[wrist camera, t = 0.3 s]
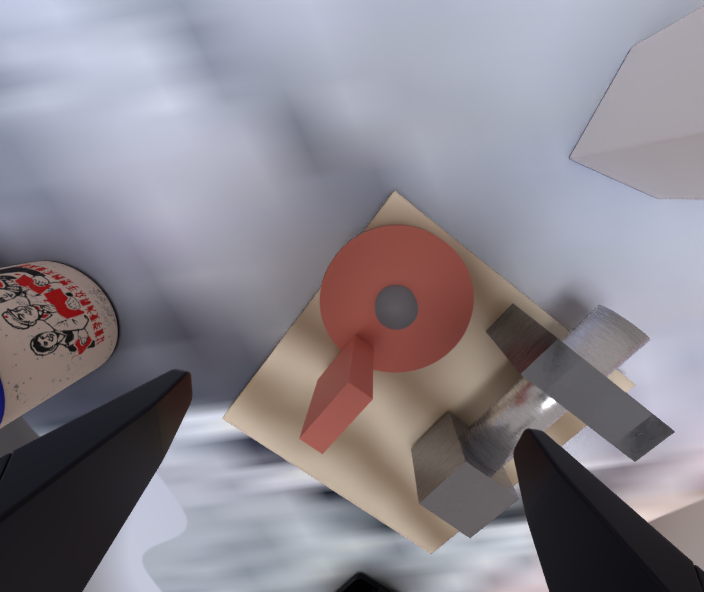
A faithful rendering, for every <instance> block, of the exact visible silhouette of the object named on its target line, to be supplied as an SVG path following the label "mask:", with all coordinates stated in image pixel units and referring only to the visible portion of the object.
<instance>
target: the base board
mask: <svg viewBox="0 0 704 592" xmlns="http://www.w3.org/2000/svg"><path fill="white" fill-rule="evenodd" d="M386 225H408V226H413V227H417V228H420V229H423V230H426V231H428V232H430V233H432V234H434V235H436V236H437V237H439V238H440V239H442V240H443V241H444V242H446V243H447V244H448V245H449V246H451V247H452V248H453V249H454V250H455V251H456V253H457V254H458V255H459V256H460V257H461V259H462V260H463V262H464V264H465V265H466V267H467V270H468V272H469V274H470V277H471V281H472V285H473V292H474V306H473V312H472V316H471V320H470V323H469V325H468V327H467V330H466V332H465V334H464V335H463V337H462V338H461V340H460V341H459V342H458V344H457V345H456V346H455V347H454V348H453V349H452V350H451V351H450V352H449V353H448V354H447V355H445V356H444V357H443V358H441V359H440V360H438V361H437V362H435V363H433V364H431V365H429V366H426V367H424V368H421V369H418V370H414V371H409V372H399V373H391V372H382V371H377V370H373V400H372V401H371V402H370V403H369V404H368V405H367V406H366V407H365V408H364V410H363V411H362V412H361V413H360V414H359V415H358V416H357V417H356V418H355V419H354V420H353V422H352V423H351V424H350V425H349V426H348V427H347V428H346V429H345V430H344V431H343V432H342V434H341V435H340V436H339V437H338V438H337V439H336V440H335V441H334V442H333V443H332V444H331V446H330V447H329V448H328V449H327V450H326V451H325V452H324V453H323V454H321V453H320V452H318V451H317V450H315V449H314V448H312V447H311V446H309V445H308V444H306V443H305V442H303V441H302V440H300V439H299V438H300V435H301V431H302V428H303V425H304V422H305V419H306V415H307V412H308V409H309V406H310V402H311V399H312V396H313V393H314V390H315V386H316V383H317V380H318V379H319V377H320V376H321V375H322V374H323V373H324V371H325V370H326V369H327V368H328V367H329V365H330V364H331V363H332V362H333V361H334V359H335V358H336V357H337V356H338V355H339V353H340V352H341V350H340V349H339V348H338V347H337V346H336V345H335V344H334V342H333V341H332V339H331V338H330V336H329V334H328V333H327V331H326V329H325V326H324V323H323V320H322V316H321V312H320V291H321V288H320V289H319V290H318V292H317V293H316V294H315V296H314V297H313V298H312V300H311V301H310V302H309V304H308V305H307V306H306V308H305V309H304V310H303V312H302V313H301V314H300V316H299V317H298V318H297V319H296V321H295V322H294V323H293V325H292V326H291V327H290V329H289V330H288V331H287V333H286V334H285V335H284V337H283V338H282V339H281V341H280V342H279V343H278V345H277V346H276V347H275V349H274V350H273V351H272V353H271V354H270V355H269V356H268V358H267V359H266V360H265V362H264V363H263V364H262V366H261V367H260V368H259V370H258V371H257V372H256V374H255V375H254V376H253V378H252V379H251V380H250V382H249V383H248V384H247V386H246V387H245V388H244V390H243V391H242V392H241V394H240V395H239V396H238V397H237V399H236V400H235V401H234V403H233V404H232V405H231V407H230V408H229V409H228V411H227V412H226V414H225V415H224V417H223V418H222V419H224V420H225V421H227V422H228V423H230V424H231V425H233V426H234V427H236V428H237V429H239V430H241V431H242V432H244V433H245V434H247V435H248V436H250V437H251V438H253V439H254V440H256V441H258V442H259V443H261V444H262V445H264V446H265V447H267V448H268V449H270V450H271V451H273V452H274V453H276V454H278V455H279V456H281V457H282V458H284V459H285V460H287V461H288V462H290V463H291V464H293V465H295V466H296V467H298V468H299V469H301V470H302V471H304V472H305V473H307V474H308V475H310V476H312V477H313V478H315V479H316V480H318V481H319V482H321V483H322V484H324V485H325V486H327V487H329V488H330V489H332V490H333V491H335V492H336V493H338V494H339V495H341V496H342V497H344V498H345V499H347V500H349V501H350V502H352V503H353V504H355V505H356V506H358V507H359V508H361V509H362V510H364V511H366V512H367V513H369V514H370V515H372V516H373V517H375V518H376V519H378V520H379V521H381V522H383V523H384V524H386V525H387V526H389V527H390V528H392V529H393V530H395V531H396V532H398V533H399V534H401V535H403V536H404V537H406V538H407V539H409V540H410V541H412V542H413V543H415V544H416V545H418V546H420V547H421V548H423V549H424V550H426V551H427V552H429V553H430V554H432V553H433V552H435V551H436V550H437V549H438V548H439V547H441V546H442V545H443V544H444V543H445V542H447V541H448V540H449V539H450V538H451V537H453V536H454V535H455V534H456V533H457V532H459V530H457V529H456V528H454V527H453V526H451V525H450V524H448V523H447V522H445V521H444V520H442V519H441V518H439V517H438V516H436V515H435V514H433V513H432V512H430V511H429V510H427V509H426V508H424V507H423V506H421V505H420V504H419V502H418V495H417V488H416V481H415V474H414V467H413V460H412V453H411V448H412V447H413V446H414V445H415V444H416V443H417V442H418V441H419V440H420V439H421V438H422V437H423V436H424V435H426V434H427V433H428V432H429V431H430V430H431V429H432V428H433V427H434V426H435V425H436V424H437V423H438V422H439V421H440V420H441V419H442V418H443V417H444V416H445V415H446V414H447V413H448V412H450V413H451V414H453V415H454V416H456V417H457V418H458V419H460V420H461V421H463V422H464V423H465V424H467V425H468V426H471V425H472V424H473V423H474V422H475V421H476V420H477V419H478V418H479V417H480V416H481V415H482V414H483V413H484V412H485V411H486V410H488V409H489V408H490V407H491V406H492V405H493V404H494V403H495V402H496V401H497V400H498V399H499V398H500V397H501V396H502V395H504V394H505V393H506V392H507V391H508V390H509V389H510V388H511V387H512V386H513V385H514V384H515V383H516V382H517V381H518V380H519V379H521V378H522V377H523V376H522V375H521V374H520V373H519V372H518V371H517V369H516V368H515V367H514V366H513V364H512V363H511V362H510V361H509V360H508V358H507V357H506V356H505V355H504V353H503V352H502V351H501V350H500V348H499V347H498V346H497V345H496V344H495V342H494V341H493V340H492V339H491V337H490V336H489V335H488V334H487V333H486V330H487V329H488V328H489V327H490V326H491V325H492V324H493V323H494V322H495V321H496V320H497V319H498V318H499V317H500V316H501V315H502V314H503V313H504V312H505V311H506V310H507V309H508V308H509V307H510V306H511V305H512V303H513V304H515V305H516V306H517V307H518V308H520V309H521V310H522V311H524V312H525V313H526V314H527V315H529V316H530V317H531V318H533V319H534V320H535V321H536V322H538V323H539V324H540V325H542V326H543V327H544V328H545V329H547V330H548V331H549V332H550V333H552V334H553V335H554V336H556V337H557V338H558V339H559V340H562V339H563V338H564V337H565V336H566V335H567V334H568V333H570V331H568V330H567V329H566V328H565V327H563V326H562V325H561V324H560V323H559V322H557V321H556V320H555V319H554V318H552V317H551V316H550V315H549V314H547V313H546V312H545V311H544V310H542V309H541V308H540V307H539V306H537V305H536V304H535V303H534V302H532V301H531V300H530V299H529V298H527V297H526V296H525V295H524V294H523V293H521V292H520V291H519V290H518V289H516V288H515V287H514V286H513V285H511V284H510V283H509V282H508V281H506V280H505V279H504V278H503V277H501V276H500V275H499V274H498V273H496V272H495V271H494V270H493V269H491V268H490V267H489V266H488V265H486V264H485V263H484V262H483V261H482V260H480V259H479V258H478V257H477V256H475V255H474V254H473V253H472V252H470V251H469V250H468V249H467V248H465V247H464V246H463V245H462V244H460V243H459V242H458V241H457V240H455V239H454V238H453V237H452V236H450V235H449V234H448V233H447V232H446V231H444V230H443V229H442V228H441V227H439V226H438V225H437V224H436V223H434V222H433V221H432V220H431V219H429V218H428V217H427V216H426V215H424V214H423V213H422V212H421V211H419V210H418V209H417V208H416V207H414V206H413V205H412V204H411V203H410V202H408V201H407V200H406V199H405V198H403V197H402V196H401V195H400V194H398V193H397V192H396V191H393V193H392V194H391V195H390V196H389V198H388V199H387V200H386V202H385V203H384V204H383V206H382V207H381V208H380V210H379V211H378V212H377V214H376V215H375V216H374V218H373V219H372V220H371V222H370V223H369V224H368V226H367V227H366V228H365V230H364V231H363V232H365V231H367V230H370V229H373V228H376V227H381V226H386ZM363 232H362V233H363ZM607 378H608V379H610V380H611V381H612V382H613V383H615V384H616V385H617V386H618V387H620V388H621V389H622V390H623V391H625V392H627V391H629V390H630V389H631V388H632V387H633V386H635V385H636V384H634V383H633V382H632V381H631V380H629V379H628V378H627V377H626V376H624V375H623V374H622V373H621V372H619V371H618V370H617V369H616V370H615V371H614V372H613V373H611V374H610V375H609V376H608V377H607ZM585 426H586V424H585V423H584V422H582V421H581V420H580V419H578V418H577V417H576V416H574V415H573V414H572V413H571V412H569V411H567V412H566V413H565V414H564V415H563V416H561V417H560V418H559V419H558V420H557V421H556V422H554V423H553V424H552V425H551V426H550V427H549V428H547V429H546V430H545V431H544V432H545V433H546V434H547V435H548V436H549V437H551V438H552V439H553V440H554V441H555V442H556V443H557V444H559V445H560V446H562V445H563V444H565V443H566V442H567V441H568V440H570V439H571V438H572V437H573V436H574V435H576V434H577V433H578V432H579V431H580V430H582V429H583V428H584V427H585ZM504 468H505V470H506V472H507V475H508V477H509V479H510V481H511V483H512V485H513V486H514V485H515V484H517V483H518V477H517V472H516V468H515V463H514V458H513V459H511V460H510V461H509V462H508V463H507V464H506V465H505V466H504Z"/></svg>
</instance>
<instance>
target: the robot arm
mask: <svg viewBox="0 0 704 592" xmlns="http://www.w3.org/2000/svg"><path fill="white" fill-rule="evenodd" d="M191 400H192V381H191V374H190V372H189V371H185V370H179V369H173V370H170V371H168V372H166V373H165V374H163V375H161V376H159V377H157V378H155V379H153V380H151V381H149V382H147V383H145V384H143V385H141V386H139V387H137V388H135V389H133V390H131V391H129V392H127V393H125V394H123V395H121V396H119V397H118V398H116V399H114V400H112V401H110V402H108V403H106V404H104V405H102V406H100V407H98V408H96V409H94V410H92V411H90V412H88V413H86V414H84V415H82V416H80V417H78V418H76V419H74V420H73V421H71V422H69V423H67V424H65V425H63V426H61V427H59V428H57V429H55V430H53V431H51V432H49V433H47V434H45V435H43V436H41V437H39V438H38V439H36V440H33V441H31V442H29V443H28V444H26V445H24V446H22V447H20V448H18V449H16V450H14V451H13V453H12V454H11V453H8V454H6V455H4V456H2V457H0V592H82V591H83V590H84V588H85V587H86V585H87V583H88V581H89V580H90V578H91V577H92V575H93V573H94V572H95V570H96V569H97V567H98V565H99V564H100V562H101V560H102V559H103V557H104V555H105V554H106V552H107V551H108V549H109V547H110V546H111V544H112V543H113V541H114V539H115V538H116V536H117V534H118V533H119V531H120V529H121V528H122V526H123V525H124V523H125V521H126V520H127V518H128V516H129V515H130V513H131V512H132V510H133V508H134V507H135V505H136V503H137V502H138V500H139V498H140V497H141V495H142V494H143V492H144V490H145V488H146V487H147V486H148V484H149V482H150V481H151V479H152V477H153V476H154V474H155V472H156V471H157V469H158V468H159V466H160V464H161V462H162V461H163V459H164V457H165V455H166V453H167V451H168V449H169V447H170V445H171V443H172V441H173V439H174V437H175V435H176V433H177V431H178V428H179V426H180V424H181V422H182V420H183V418H184V416H185V414H186V412H187V410H188V408H189V406H190V403H191ZM513 458H514V463H515V468H516V472H517V477H518V482H519V487H520V491H521V496H522V501H523V506H524V510H525V514H526V518H527V522H528V525H529V528H530V532H531V535H532V538H533V541H534V544H535V548H536V551H537V554H538V557H539V560H540V564H541V567H542V570H543V573H544V576H545V580H546V583H547V586H548V589H549V592H704V571H703V570H702V569H700V568H699V567H698V566H696V565H694V564H693V562H692V561H691V560H690V559H689V558H688V557H687V556H685V555H684V554H683V553H682V552H681V551H680V550H679V549H677V548H676V547H675V546H674V545H673V544H672V543H671V542H669V541H668V540H667V539H666V538H665V537H663V536H662V535H661V534H660V533H659V532H658V531H657V530H656V529H655V528H653V527H652V526H651V525H650V524H649V523H648V522H647V521H645V520H644V519H643V518H642V517H641V516H640V515H639V514H637V513H636V512H635V511H634V510H633V509H632V508H631V507H629V506H628V505H627V504H626V503H625V502H624V501H623V500H621V499H620V498H619V497H618V496H617V495H616V494H615V493H613V492H612V491H611V490H610V489H609V488H608V487H607V486H605V485H604V484H603V483H602V482H601V481H600V480H599V479H597V478H596V477H595V476H594V475H593V474H592V473H591V472H589V471H588V470H587V469H586V468H585V467H584V466H583V465H581V464H580V463H579V462H578V461H577V460H576V459H575V458H573V457H572V456H571V455H570V454H569V453H568V452H567V451H565V450H564V449H563V448H562V447H561V446H560V445H559V444H557V443H556V442H555V441H554V440H553V439H552V438H551V437H549V436H548V435H547V434H546V433H545V432H543V431H541V430H537V429H531V428H527V429H525V430H524V431H523V433H522V435H521V437H520V439H519V440H518V442H517V444H516V446H515V448H514V451H513ZM337 592H391V591H389V590H387V589H386V588H384V587H382V586H381V585H379V584H378V583H376V582H374V581H373V580H371V579H370V578H368V577H366V576H365V575H363V574H357V575H355V576H354V577H353V578H352V579H351V580H350V581H348V582H347V583H346V584H345V585H344V586H343V587H342V588H341V589H339V590H338V591H337Z"/></svg>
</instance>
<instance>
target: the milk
mask: <svg viewBox="0 0 704 592" xmlns="http://www.w3.org/2000/svg"><path fill="white" fill-rule="evenodd" d="M570 159H571V160H573V161H575V162H577V163H580V164H582V165H584V166H586V167H588V168H591V169H593V170H595V171H597V172H600V173H602V174H604V175H606V176H608V177H611V178H613V179H615V180H617V181H620V182H622V183H624V184H626V185H628V186H631V187H633V188H635V189H637V190H640V191H642V192H644V193H646V194H648V195H651V196H653V197H655V198H658V199H700V200H704V6H702V7H701V8H699V9H697V10H695V11H694V12H692V13H690V14H689V15H687V16H685V17H683V18H682V19H680V20H678V21H676V22H675V23H673V24H671V25H670V26H668V27H666V28H664V29H663V30H661V31H659V32H657V33H656V34H654V35H652V36H650V37H649V38H647V39H645V40H644V41H642V42H640V43H638V44H637V45H635V46H633V47H632V48H631V50H630V51H629V53H628V55H627V57H626V58H625V60H624V62H623V64H622V66H621V67H620V69H619V71H618V73H617V74H616V76H615V78H614V80H613V81H612V83H611V85H610V87H609V89H608V90H607V92H606V94H605V96H604V97H603V99H602V101H601V103H600V104H599V106H598V108H597V110H596V112H595V113H594V115H593V117H592V119H591V120H590V122H589V124H588V126H587V127H586V129H585V131H584V133H583V135H582V136H581V138H580V140H579V142H578V143H577V145H576V147H575V149H574V150H573V152H572V154H571V156H570Z"/></svg>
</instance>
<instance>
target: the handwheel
mask: <svg viewBox="0 0 704 592" xmlns="http://www.w3.org/2000/svg"><path fill="white" fill-rule="evenodd" d="M473 306H474V292H473V285H472V281H471V277H470V274H469V272H468V270H467V267H466V265H465V264H464V262H463V260H462V259H461V257H460V256H459V255H458V254H457V253H456V251H455V250H454V249H453V248H452V247H451V246H449V245H448V244H447V243H446V242H444V241H443V240H442V239H440V238H439V237H437V236H436V235H434V234H432V233H430V232H428V231H426V230H423V229H420V228H417V227H413V226H408V225H386V226H381V227H376V228H373V229H370V230H367V231H365V232H363V233H361V234H359V235H358V236H356V237H355V238H353V239H352V240H350V241H349V242H348V243H347V244H346V245H344V246H343V247H342V248H341V250H340V251H339V252H338V253H337V254H336V256H335V257H334V259H333V260H332V262H331V263H330V265H329V267H328V269H327V271H326V273H325V275H324V278H323V281H322V285H321V291H320V312H321V316H322V320H323V323H324V326H325V329H326V331H327V333H328V334H329V336H330V338H331V339H332V341H333V342H334V344H335V345H336V346H337V347H338V348H339V349H340V350H341V352H340V353H339V355H338V356H337V357H336V358H335V359H334V361H333V362H332V363H331V364H330V365H329V367H328V368H327V369H326V370H325V371H324V373H323V374H322V375H321V376H320V377H319V379H318V380H317V383H316V386H315V390H314V393H313V396H312V399H311V402H310V406H309V409H308V412H307V415H306V419H305V422H304V425H303V428H302V431H301V435H300V438H299V439H300V440H302V441H303V442H305V443H306V444H308V445H309V446H311V447H312V448H314V449H315V450H317V451H318V452H320V453H321V454H323V453H324V452H325V451H326V450H327V449H328V448H329V447H330V446H331V444H332V443H333V442H334V441H335V440H336V439H337V438H338V437H339V436H340V435H341V434H342V432H343V431H344V430H345V429H346V428H347V427H348V426H349V425H350V424H351V423H352V422H353V420H354V419H355V418H356V417H357V416H358V415H359V414H360V413H361V412H362V411H363V410H364V408H365V407H366V406H367V405H368V404H369V403H370V402H371V401H372V400H373V370H377V371H382V372H391V373H399V372H409V371H414V370H418V369H421V368H424V367H426V366H429V365H431V364H433V363H435V362H437V361H438V360H440V359H441V358H443V357H444V356H445V355H447V354H448V353H449V352H450V351H451V350H452V349H453V348H454V347H455V346H456V345H457V344H458V342H459V341H460V340H461V338H462V337H463V335H464V334H465V332H466V330H467V327H468V325H469V323H470V320H471V316H472V312H473Z"/></svg>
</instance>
